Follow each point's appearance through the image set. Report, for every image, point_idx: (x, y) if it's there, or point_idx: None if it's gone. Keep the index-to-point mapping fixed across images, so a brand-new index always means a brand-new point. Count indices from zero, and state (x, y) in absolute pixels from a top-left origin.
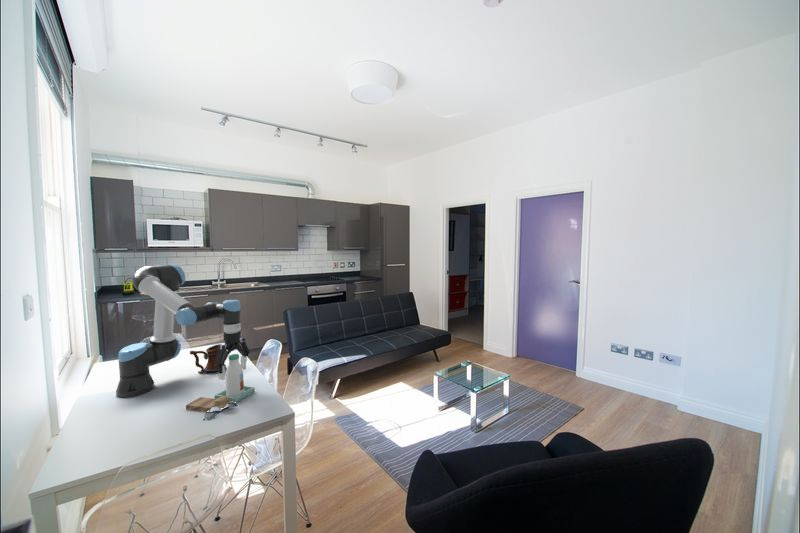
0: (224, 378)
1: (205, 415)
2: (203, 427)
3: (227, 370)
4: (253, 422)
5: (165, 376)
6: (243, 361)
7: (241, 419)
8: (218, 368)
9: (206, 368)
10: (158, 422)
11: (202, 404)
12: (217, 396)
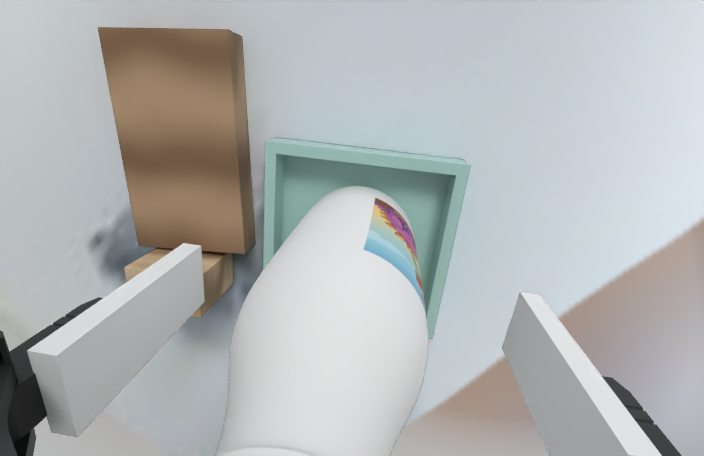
0: (196, 305)
1: (124, 218)
2: (52, 286)
3: (232, 338)
4: (163, 445)
5: None
6: (547, 413)
7: (163, 396)
8: (24, 357)
9: None
10: None
11: (150, 146)
12: (266, 167)
